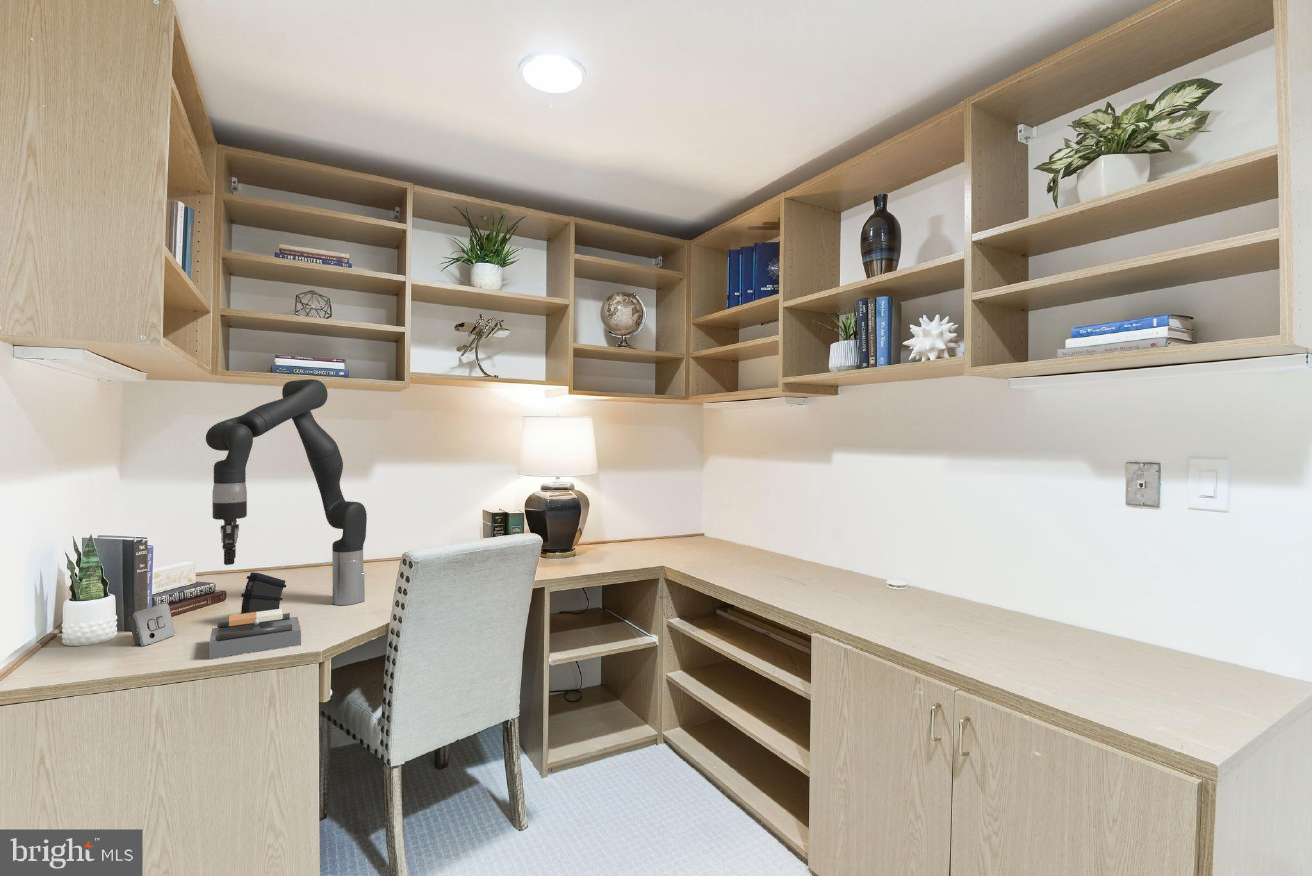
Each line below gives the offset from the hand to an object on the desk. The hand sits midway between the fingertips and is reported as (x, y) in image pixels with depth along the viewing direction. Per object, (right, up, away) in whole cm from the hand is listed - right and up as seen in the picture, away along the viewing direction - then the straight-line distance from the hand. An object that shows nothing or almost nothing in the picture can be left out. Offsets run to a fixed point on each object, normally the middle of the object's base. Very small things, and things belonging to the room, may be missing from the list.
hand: (229, 561), depth 168 cm
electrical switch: (-25, -23, +5) cm, 34 cm away
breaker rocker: (+5, -16, +3) cm, 17 cm away
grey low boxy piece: (+5, -23, +3) cm, 23 cm away
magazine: (-5, -22, +23) cm, 33 cm away
